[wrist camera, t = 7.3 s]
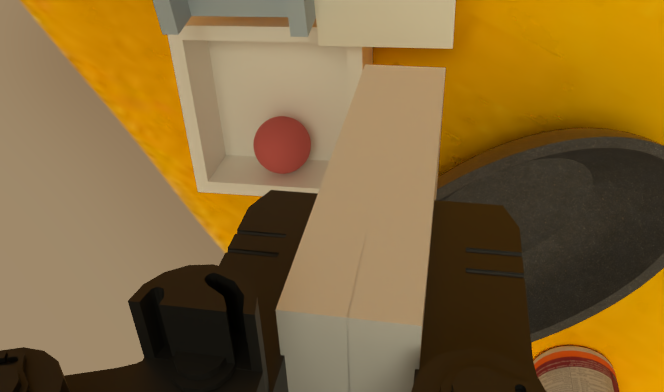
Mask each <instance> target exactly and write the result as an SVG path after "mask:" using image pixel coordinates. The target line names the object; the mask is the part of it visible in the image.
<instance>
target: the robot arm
mask: <svg viewBox="0 0 664 392" xmlns="http://www.w3.org/2000/svg"><path fill="white" fill-rule="evenodd" d="M445 72H446V68H441V67H416V66H392V65H367V64H365V66H364V69H363V71H362V74H361V77H360V80H359V82H358V85H357V88H356V91H355V93H354V96H353V99H352V102H351V104H350V107H349V110H348V113H347V115H346V118H345V121H344V124H343V126H342V129H341V132H340V134H339V137H338V140H337V143H336V145H335V148H334V151H333V154H332V156H331V159H330V162H329V165H328V167H327V170H326V173H325V176H324V178H323V181H322V184H321V187H320V189H319V192H318V193H306V192H293V191H280V190H270V191H269V192H268V193H266V194H265V195H264V196H263V197H261V198H260V199H259V200H258V201H256V202H255V203H254V204H253V205H251V206H250V207H249V208H248V210H247V212H246V214H245V216H244V218H243V220H242V222H241V224H240V226H239V227H238V229H237V234H235V235H234V237H233V239H232V241H231V243H230V245H229V247H228V253H225V255H224V257H223V259H222V261H221V263H220V265H219V266H217V265H188V266H185V267H181V268H178V269H175V270H171V271H168V272H164V273H163V274H161V275H159V276H157V277H156V278H154V279H152V280H150V281H149V282H147V283H145V284H143V285H142V287H141V288H140V289H139V290H138V291H137V292H136V293H135V294H134V295H133V296H132V297H131V298H130V299H129V301H128V303H129V306H130V310H131V313H132V316H133V320H134V323H135V327H136V330H137V334H138V337H139V340H140V344H141V347H142V351H143V354H144V359H143V361H141V362H139V363H137V364H132V365H128V366H124V367H120V368H114V369H107V370H100V371H94V372H87V373H81V374H73V375H66V376H64V375H63V372H62V370H61V367H60V365H59V362H58V361H57V360H56V359H54V358H53V357H51V356H50V355H48V354H47V353H46V352H45V351H41V350H35V349H30V348H24V347H23V348H16V349H10V350H2V351H0V392H547V391H546V390H545V389H544V387H543V385H542V383H541V382H540V380H539V378H538V376H537V374H536V370H535V367H534V363H533V357H532V347H531V337H530V327H529V317H528V307H527V297H526V287H525V279H524V267H523V257H522V247H521V237H520V228H519V226H518V225H517V224H516V222H515V221H514V220H513V218H512V217H511V216H510V214H509V213H508V212H507V210H506V209H505V208H504V206H503V205H492V204H479V203H466V202H453V201H440V200H436V194H437V181H438V168H439V154H440V140H441V127H442V113H443V99H444V86H445Z"/></svg>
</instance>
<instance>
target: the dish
mask: <svg viewBox="0 0 664 392" xmlns="http://www.w3.org/2000/svg"><path fill="white" fill-rule="evenodd" d="M168 40H169V45H170V50H171V55H172V61H173V66H174V71H175V76H176V81H177V86H178V92H179V97H180V102H181V107H182V112H183V117H184V123H185V128H186V133H187V138H188V143H189V148H190V154H191V159H192V164H193V169H194V174H195V179H196V185H197V190H198V192H207V193H222V194H237V195H252V196H264V195H265V194H266V193H268V192H269V191H270V190H280V191H293V192H306V193H318V192H319V189H320V187H321V184H322V181H323V178H324V176H325V173H326V170H327V167H328V165H329V162H330V159H331V156H332V154H333V151H334V148H335V145H336V143H337V140H338V137H339V134H340V132H341V129H342V126H343V124H344V121H345V118H346V115H347V113H348V110H349V107H350V104H351V102H352V99H353V96H354V93H355V91H356V88H357V85H358V82H359V80H360V77H361V74H362V71H363V69H364V66H365V64H367V65H373V47H345V46H319V43H318V33H317V24H316V18H315V21H314V23H313V26H312V28H311V31H310V33H309V36H308V37H291V35H290V28H289V20H288V17H225V16H191V18H190V19H189V20H188V22H187V23H186V25H185V26H184V28H183V29H182V31H181V32H180V33H179V35H168ZM278 116H286V117H291V118H293V119H296V120H297V121H299V122H300V123H301V124H302V125H303V126H304V127H305V128H306V130H307V131H308V133H309V136H310V140H311V150H310V154H309V157H308V159H307V161H306V162H305V163H304V164H303V165H302V166H301V167H300V168H299V169H297V170H296V171H293V172H291V173H286V174H278V173H274V172H271V171H269V170H267V169H266V168H265V167H263V166H262V165H261V164H260V162H259V161H258V160H257V158H256V155H255V152H254V146H253V143H254V137H255V134H256V132H257V130H258V129H259V127H260V126H261V125H262V124H263V123H264V122H265V121H267V120H269V119H271V118H273V117H278Z"/></svg>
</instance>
